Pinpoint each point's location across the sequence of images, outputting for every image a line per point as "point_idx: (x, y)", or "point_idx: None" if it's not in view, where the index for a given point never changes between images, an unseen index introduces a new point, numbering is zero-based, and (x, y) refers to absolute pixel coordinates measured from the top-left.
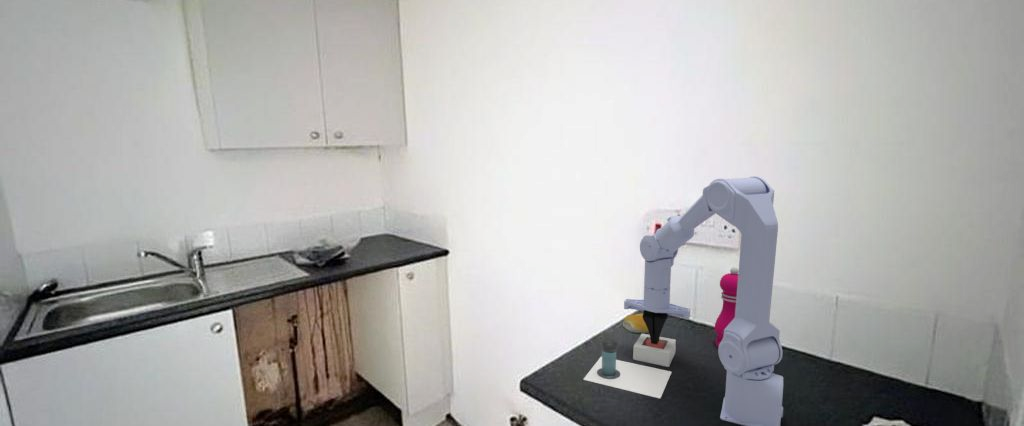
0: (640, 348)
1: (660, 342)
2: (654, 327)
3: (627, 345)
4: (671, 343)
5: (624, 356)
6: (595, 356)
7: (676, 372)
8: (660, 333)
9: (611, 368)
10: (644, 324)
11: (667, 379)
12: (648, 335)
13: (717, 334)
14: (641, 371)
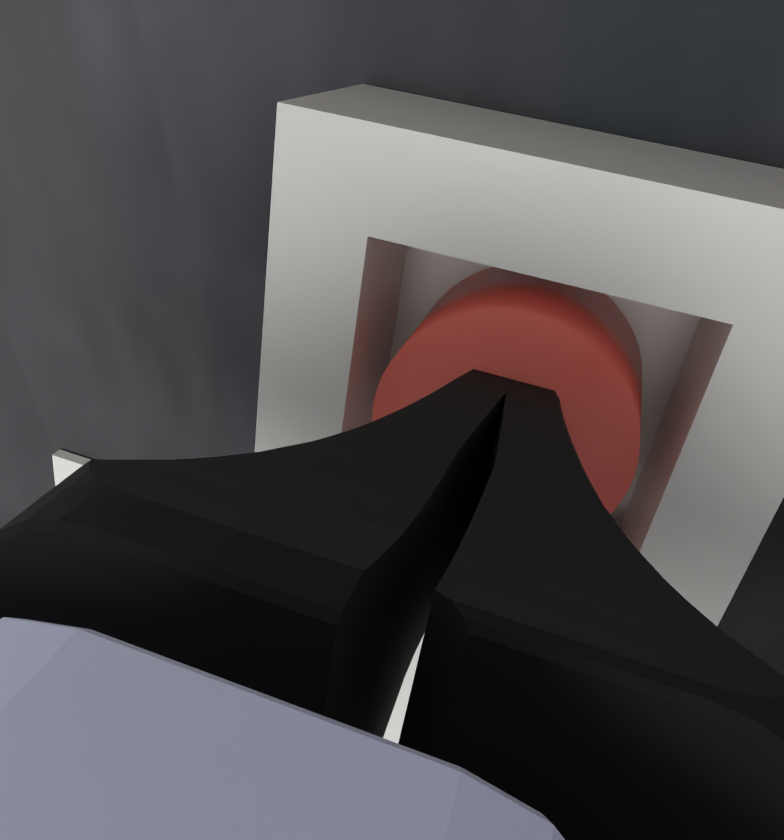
0: None
1: (583, 439)
2: (419, 601)
3: (195, 90)
4: (775, 417)
5: (229, 391)
6: (16, 433)
7: (744, 638)
8: (571, 442)
9: None
10: None
11: None
12: (391, 170)
13: None
14: (410, 663)
